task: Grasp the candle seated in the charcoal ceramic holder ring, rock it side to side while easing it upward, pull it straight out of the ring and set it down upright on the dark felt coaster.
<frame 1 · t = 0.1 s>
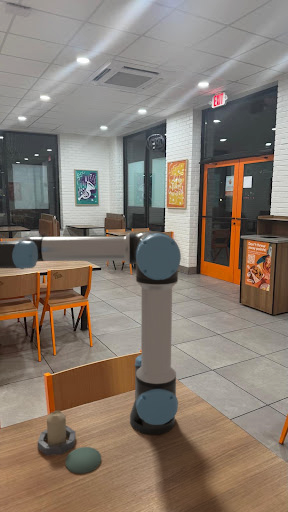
coaster: (83, 460, 102), on the table
holder ring: (57, 443, 109), on the table
candle: (57, 443, 109), resting in holder ring
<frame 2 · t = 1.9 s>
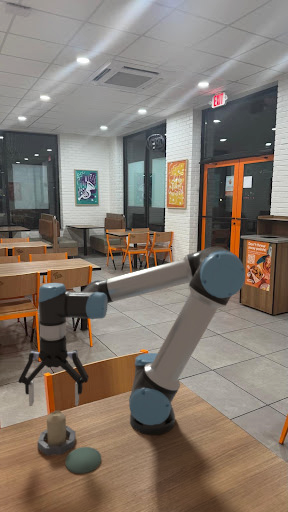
hand: (54, 403, 108), 13 cm above the table, fingers open, 13 cm apart
nothing on the table moved.
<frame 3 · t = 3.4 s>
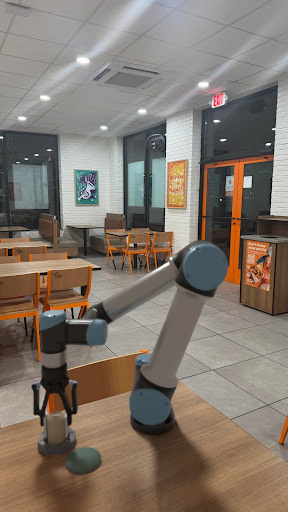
hand: (56, 434, 109), 3 cm above the table, fingers closed on candle, 5 cm apart
candle: (57, 443, 109), resting in holder ring, touching gripper
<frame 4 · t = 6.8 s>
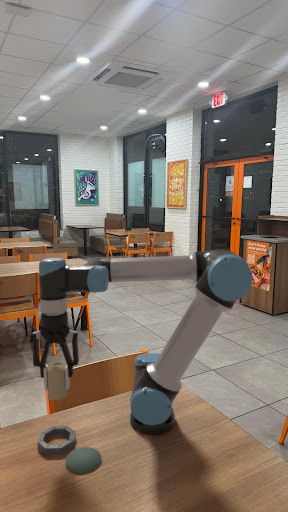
hand: (57, 386, 106), 19 cm above the table, fingers closed on candle, 5 cm apart
candle: (57, 396, 107), point 16 cm above the table, touching gripper
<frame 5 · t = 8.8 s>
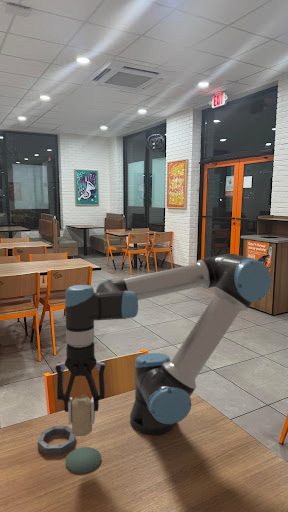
hand: (81, 421, 100), 12 cm above the table, fingers closed on candle, 5 cm apart
candle: (82, 431, 101), point 9 cm above the table, touching gripper
when the fingers open (5 cm above the table, at t = 10.3 s): candle drops 2 cm, resting on coaster.
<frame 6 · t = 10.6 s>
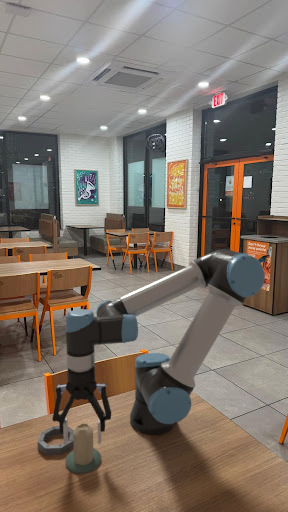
hand: (82, 441, 101), 6 cm above the table, fingers open, 9 cm apart
candle: (83, 459, 102), resting on coaster
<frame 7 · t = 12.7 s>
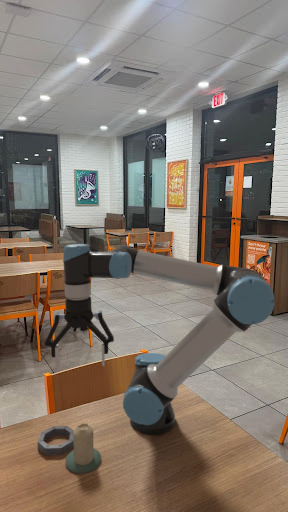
hand: (80, 365, 108), 24 cm above the table, fingers open, 13 cm apart
nothing on the table moved.
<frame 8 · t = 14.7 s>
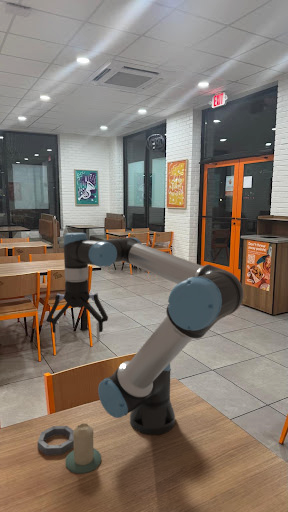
hand: (78, 341, 121), 27 cm above the table, fingers open, 13 cm apart
nothing on the table moved.
at the end: candle 0.2 cm from the coaster (horizontally); candle tilted 0°; candle resting on coaster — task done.
